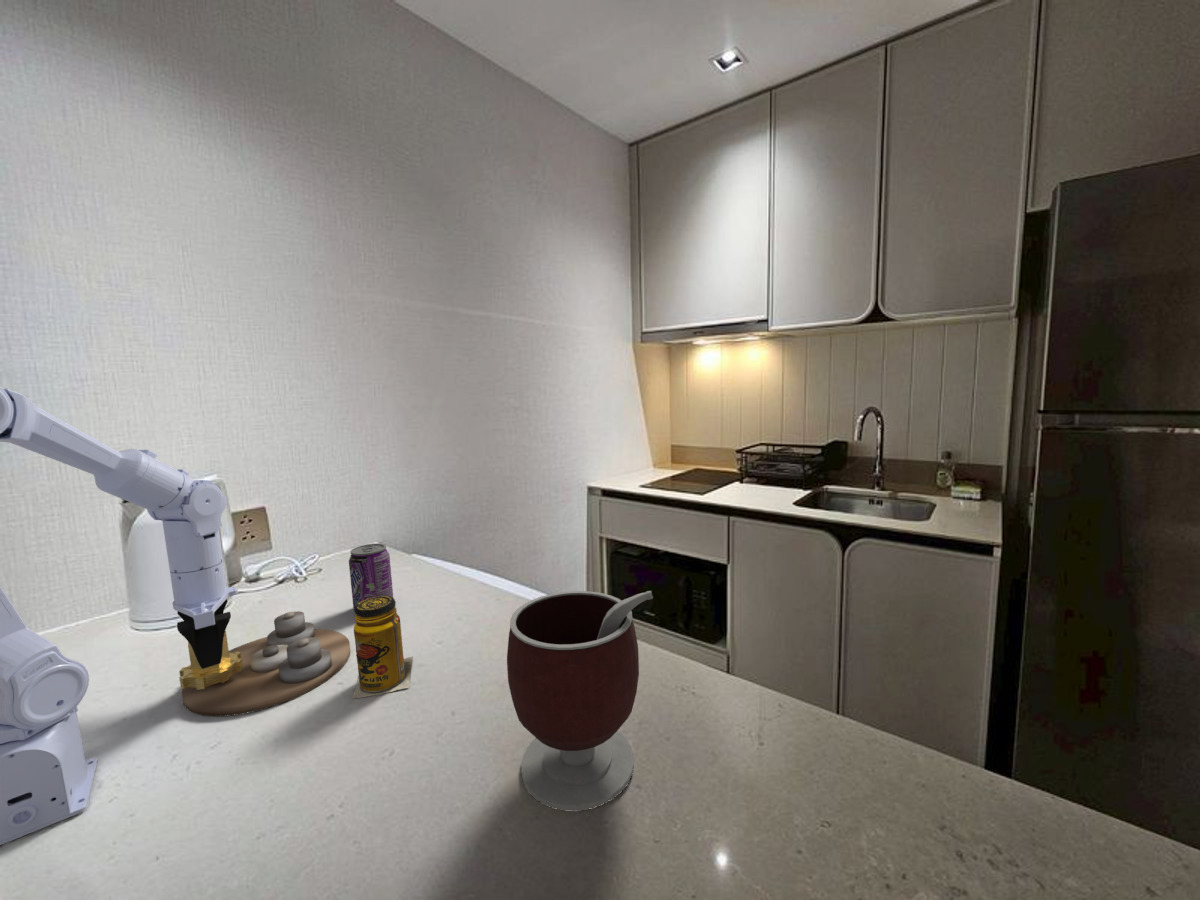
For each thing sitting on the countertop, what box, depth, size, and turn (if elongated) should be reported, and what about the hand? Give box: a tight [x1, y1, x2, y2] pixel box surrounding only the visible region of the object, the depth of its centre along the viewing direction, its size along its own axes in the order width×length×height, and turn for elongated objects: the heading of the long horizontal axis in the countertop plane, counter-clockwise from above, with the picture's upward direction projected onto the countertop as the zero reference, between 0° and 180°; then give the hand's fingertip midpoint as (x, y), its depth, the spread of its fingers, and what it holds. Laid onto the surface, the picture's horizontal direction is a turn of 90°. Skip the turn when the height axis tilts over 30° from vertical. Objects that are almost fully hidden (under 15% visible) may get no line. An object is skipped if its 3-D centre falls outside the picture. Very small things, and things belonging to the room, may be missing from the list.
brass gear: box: [178, 630, 243, 690], centre depth 69 cm, size 7×7×6 cm
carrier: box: [181, 610, 351, 717], centre depth 74 cm, size 21×21×6 cm
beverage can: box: [348, 543, 394, 612], centre depth 94 cm, size 7×7×12 cm
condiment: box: [351, 596, 414, 700], centre depth 71 cm, size 7×8×12 cm
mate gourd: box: [506, 590, 654, 811], centre depth 52 cm, size 16×14×20 cm
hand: (210, 658), depth 69 cm, fingers closed on brass gear, 4 cm apart
